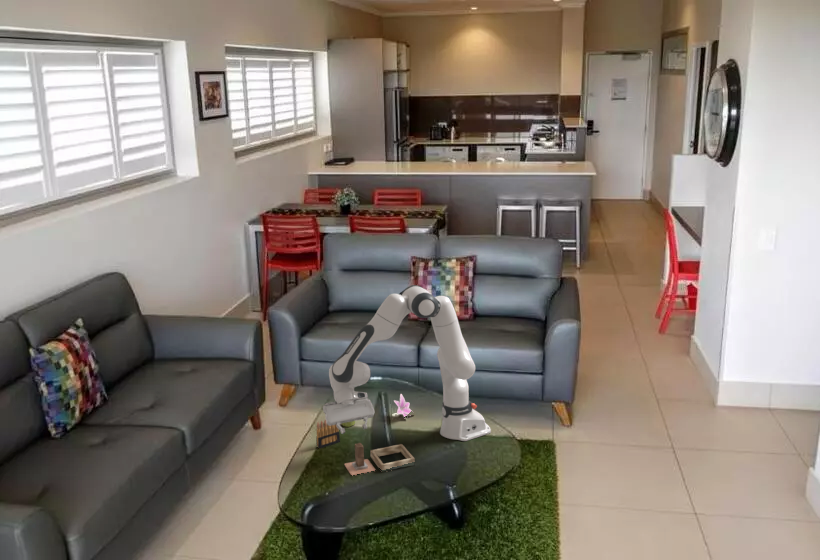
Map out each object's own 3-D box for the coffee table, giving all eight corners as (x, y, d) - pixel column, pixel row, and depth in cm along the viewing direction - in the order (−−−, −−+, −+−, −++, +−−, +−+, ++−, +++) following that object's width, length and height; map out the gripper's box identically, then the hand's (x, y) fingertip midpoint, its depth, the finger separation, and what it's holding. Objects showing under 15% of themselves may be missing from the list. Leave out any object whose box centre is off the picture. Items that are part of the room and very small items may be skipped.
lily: (393, 426, 339) (402, 410, 335) (381, 408, 347) (390, 393, 343) (412, 426, 347) (422, 411, 343) (401, 409, 354) (410, 394, 351)
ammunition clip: (318, 449, 316) (317, 423, 313) (316, 447, 318) (314, 421, 315) (340, 442, 322) (339, 416, 319) (338, 440, 324) (336, 415, 321)
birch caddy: (402, 450, 313) (401, 443, 313) (414, 465, 301) (414, 458, 300) (370, 456, 308) (370, 450, 308) (382, 472, 296) (381, 465, 295)
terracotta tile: (367, 460, 306) (367, 458, 306) (375, 471, 297) (375, 469, 297) (344, 464, 302) (344, 463, 302) (351, 476, 293) (351, 474, 293)
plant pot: (357, 428, 335) (357, 410, 333) (337, 428, 335) (336, 410, 333) (359, 419, 344) (358, 402, 342) (339, 420, 344) (338, 402, 342)
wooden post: (363, 462, 303) (363, 441, 300) (367, 468, 298) (367, 446, 296) (352, 465, 301) (351, 443, 298) (356, 470, 296) (355, 449, 294)
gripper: (322, 401, 302) (331, 433, 295) (370, 392, 309) (379, 423, 303) (320, 407, 307) (328, 438, 301) (367, 398, 314) (376, 429, 308)
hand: (354, 430), depth 302 cm, fingers open, 8 cm apart
